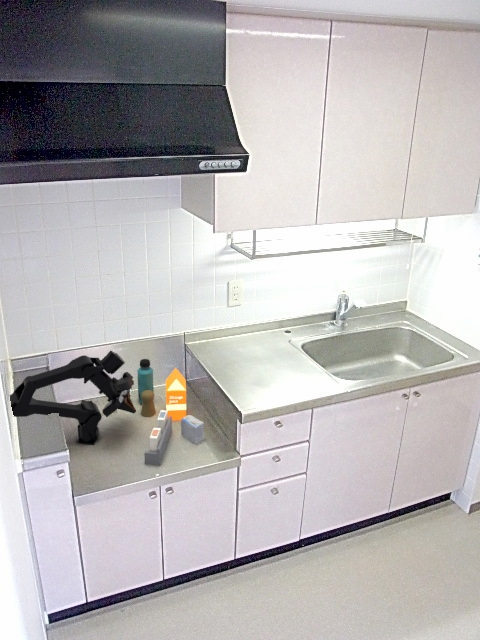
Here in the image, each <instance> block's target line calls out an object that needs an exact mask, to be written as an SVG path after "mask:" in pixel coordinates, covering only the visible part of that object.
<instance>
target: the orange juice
mask: <svg viewBox="0 0 480 640" xmlns="http://www.w3.org/2000/svg"><path fill="white" fill-rule="evenodd" d="M186 381H187V380H186V378H185V377H184V376H183V375H182V373H181V372H180V371H179V369H177V367H175V368H174V369H173V370H172V372H171V373H169V376H168V377H167V378H166V379H165V396H166V398H165V399H166V401H165V402H166V403H165V404H166V406H165V407H166V409H165V410H166V411H168V418H169V416H172V422H173V421H181V419H182V418H184V417H186V416H187V382H186Z"/></svg>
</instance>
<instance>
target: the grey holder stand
mask: <svg viewBox="0 0 480 640" xmlns="http://www.w3.org/2000/svg"><path fill="white" fill-rule="evenodd" d="M172 433H173V421H172V416H169V418H168V421H167V423H166V426H165V429H164V431H163V433H161V439H160V442H159V444H158V447H157V452H154V451H150V450H145V451H144V452H143V453H144V464H145V465H149V466H150V465H151V466H161V464H162V461H163V458H164V455H165V452H166V450H167V447H168V445H169V441H170V438H171V437H172Z"/></svg>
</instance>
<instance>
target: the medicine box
mask: <svg viewBox="0 0 480 640" xmlns="http://www.w3.org/2000/svg"><path fill="white" fill-rule="evenodd" d="M180 425H181V426H180V427H181V429H180V431H181V433H180V434H181V436H182V437H184V438H185V439H187V441H188V440H189V441H190V442H191V443H193V444H195V445H197V444H199V443H201V442H202V441H204V439H205V423H204V422H203V421H202V420H200V419H198V418H197V417H195V416H193V415H191V414H188V415H186V417H184V418H182V419H181V420H180Z"/></svg>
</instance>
